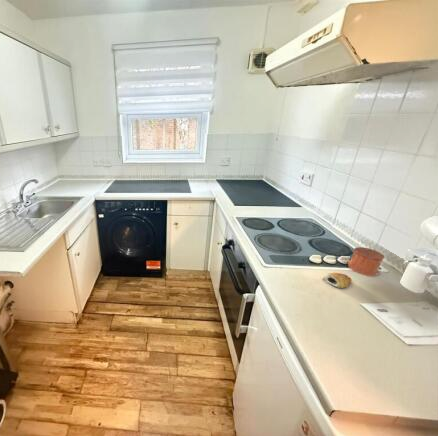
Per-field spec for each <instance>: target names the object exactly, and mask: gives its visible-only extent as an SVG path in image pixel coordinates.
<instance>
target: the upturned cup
mask: <svg viewBox="0 0 438 436" xmlns="http://www.w3.org/2000/svg"><path fill="white" fill-rule="evenodd" d="M384 259H385V255H384V254H383V253H382V252H380V251H377V250H375V249H372V248H368V247H363V246H358V247H355V248H354V250H353V252H352V256H351V258H350V261H348V263H347V266H348V268H349V269H350V270H352V271H354V272H356V273H358V274H361V275H365V276H370V277H374V276H377V275H378V274H379V269H380V267H381V264H382V263H383V260H384Z"/></svg>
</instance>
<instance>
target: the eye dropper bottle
mask: <svg viewBox="0 0 438 436" xmlns="http://www.w3.org/2000/svg"><path fill="white" fill-rule="evenodd" d="M431 262H432V259H431V258H430V254H426V255H425V256H420V258H419V260H418V261H417V262H410V263H409V264H408V266H406V268H405V270H404V271H403V274H402V276H401V278H400V281H399V283H400V285H402V287H404V288H405V289H406V290H408V291H410V292H412V293H415V294H424V293H425V291H426V289H427V287H428V285H429V284H430V282H431V281H430V280H428V279H427V278H425V276H426V274H427V273H434V272H433V270H432V269H431V268H430V267H429V265H430V263H431Z"/></svg>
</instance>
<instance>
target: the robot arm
mask: <svg viewBox="0 0 438 436" xmlns="http://www.w3.org/2000/svg"><path fill="white" fill-rule="evenodd" d="M419 230H420V233H421V234H422V236H423V237H424V238H425V239H426V240H427V242H429V243H430V244H431V245H432V246H433V247H434V248H436V249H433V248H423V247H422V248H421V247H420V248H419V247H413V248H412V247H411V248H408V249H407V250H406V251H405V254H404V256H403V258H404V259H405V260H404V262H403V265H405V266H406V267H407V266H408V264H409V263H410V262H417V261H418V260H419V258H420V256H425V255H426V254H430V258H431V259H432V262H431V263H430V265H429V267H430V268H431V269H432V270H433V272H434V273H427V274H426V276H425V278H427V279H428V280H430V282H436V283H438V216H435V215H433V216H430V217H428V218H426V219H424V220H423V221H422V222H421V224H420V226H419Z"/></svg>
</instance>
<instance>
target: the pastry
mask: <svg viewBox="0 0 438 436" xmlns="http://www.w3.org/2000/svg"><path fill="white" fill-rule="evenodd" d="M323 279H324V282H326V283H327V284H329V285H331V286H333V287H335V288H338V289H344V288H347V287H348V286H349V285H350V284H351V283H352V278H351V277H350V276H348V275H347V274H345V273H340V272H330V273H327V275H326V276H324V277H323Z"/></svg>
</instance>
